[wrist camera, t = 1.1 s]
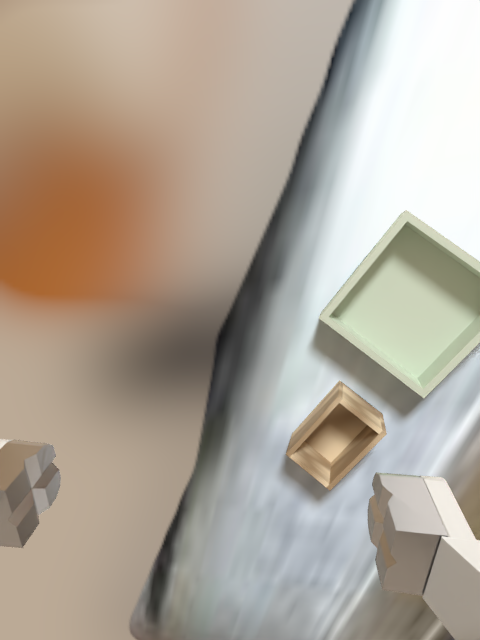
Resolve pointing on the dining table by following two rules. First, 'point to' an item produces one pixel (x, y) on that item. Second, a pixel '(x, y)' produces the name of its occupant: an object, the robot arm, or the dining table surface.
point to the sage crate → (411, 304)
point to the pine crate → (336, 435)
